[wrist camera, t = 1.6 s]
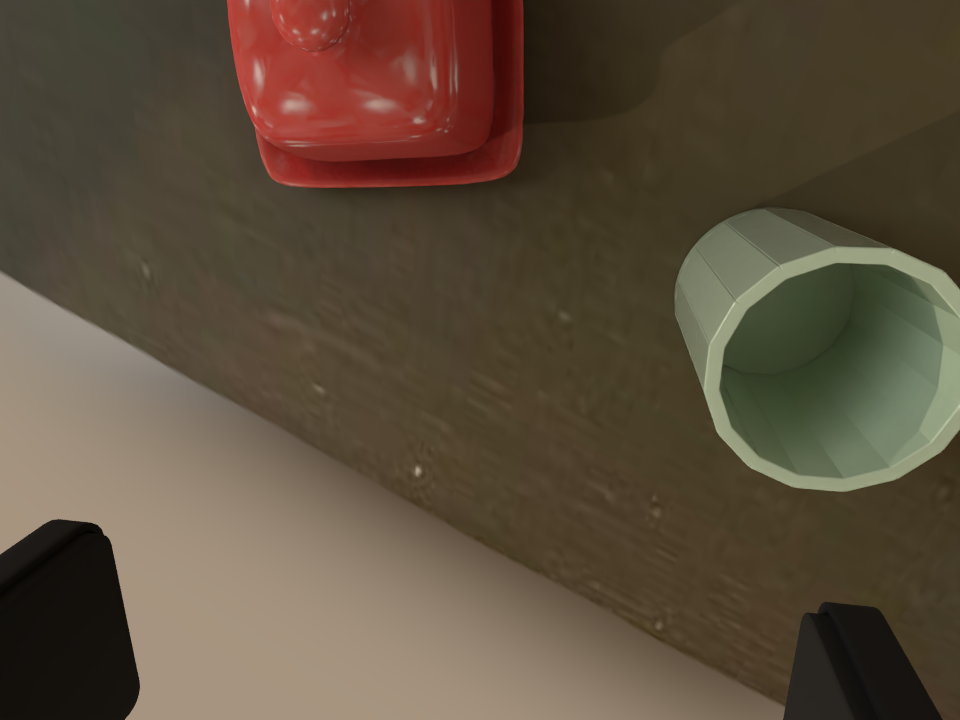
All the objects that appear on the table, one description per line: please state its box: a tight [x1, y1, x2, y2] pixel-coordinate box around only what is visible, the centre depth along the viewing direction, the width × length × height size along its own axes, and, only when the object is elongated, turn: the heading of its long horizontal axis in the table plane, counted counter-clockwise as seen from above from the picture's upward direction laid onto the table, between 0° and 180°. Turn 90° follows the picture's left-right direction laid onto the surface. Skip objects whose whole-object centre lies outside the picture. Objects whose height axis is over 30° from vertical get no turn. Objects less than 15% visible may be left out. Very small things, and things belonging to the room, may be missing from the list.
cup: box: [674, 207, 960, 492], centre depth 24 cm, size 7×7×10 cm
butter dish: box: [227, 0, 524, 188], centre depth 24 cm, size 12×12×8 cm
